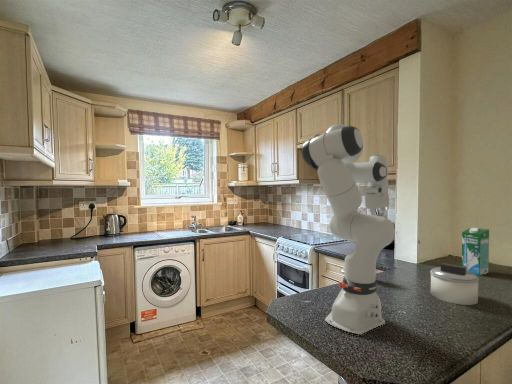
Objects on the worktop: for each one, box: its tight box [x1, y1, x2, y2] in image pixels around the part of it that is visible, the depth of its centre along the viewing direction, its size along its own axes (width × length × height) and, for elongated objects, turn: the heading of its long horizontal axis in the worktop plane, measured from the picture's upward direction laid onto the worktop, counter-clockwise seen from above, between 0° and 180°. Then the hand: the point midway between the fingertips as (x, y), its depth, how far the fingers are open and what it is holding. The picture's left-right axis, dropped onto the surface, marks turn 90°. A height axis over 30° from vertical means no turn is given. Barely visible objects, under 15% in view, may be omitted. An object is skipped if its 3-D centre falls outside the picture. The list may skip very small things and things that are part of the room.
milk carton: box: [461, 227, 490, 276], centre depth 155 cm, size 9×9×25 cm
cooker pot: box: [429, 269, 480, 306], centre depth 122 cm, size 18×18×10 cm
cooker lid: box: [431, 262, 477, 281], centre depth 121 cm, size 16×16×4 cm
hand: (377, 217), depth 134 cm, fingers open, 8 cm apart
